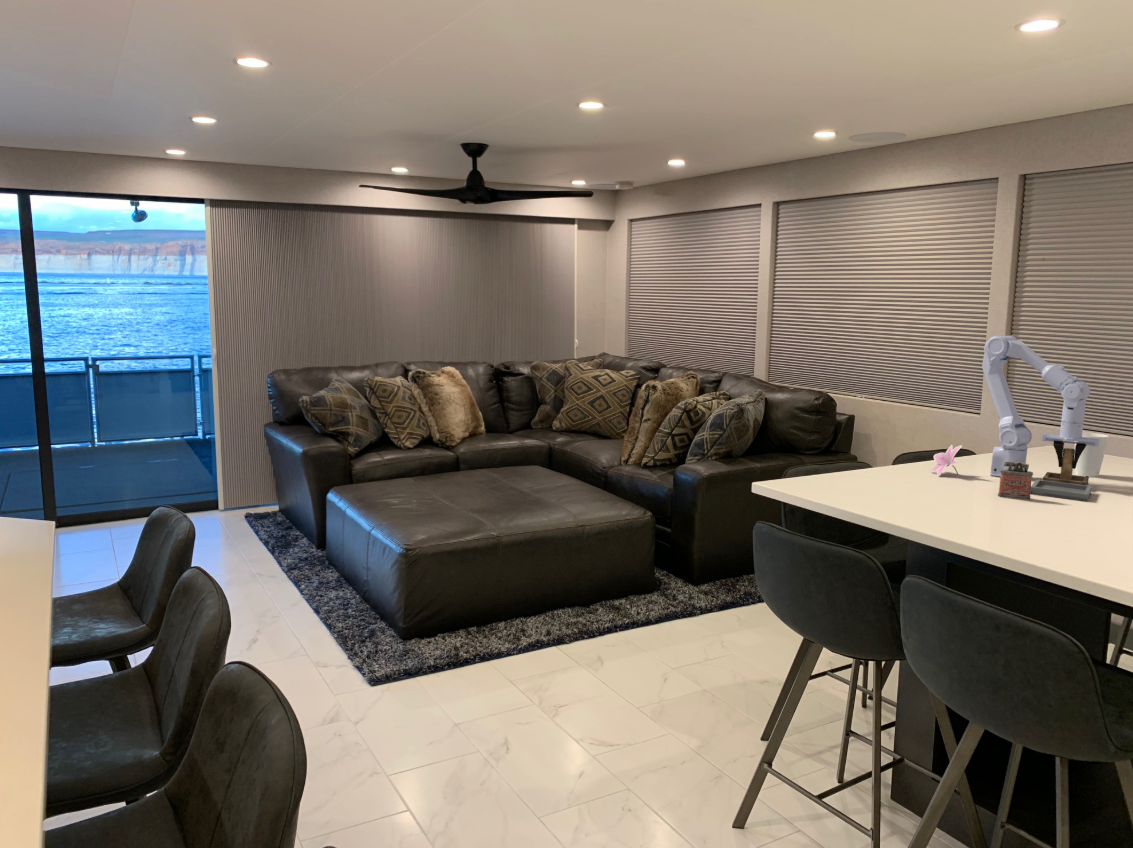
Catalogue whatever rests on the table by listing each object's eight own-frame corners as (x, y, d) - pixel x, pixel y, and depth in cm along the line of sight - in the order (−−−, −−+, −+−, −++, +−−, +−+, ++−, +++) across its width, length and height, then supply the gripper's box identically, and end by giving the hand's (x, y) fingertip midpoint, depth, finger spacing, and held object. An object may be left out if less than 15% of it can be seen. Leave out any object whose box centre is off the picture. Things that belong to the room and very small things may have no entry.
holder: (1042, 485, 255) (1043, 477, 255) (1046, 479, 264) (1047, 471, 264) (1085, 491, 249) (1086, 482, 249) (1087, 485, 258) (1088, 476, 258)
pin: (1059, 478, 256) (1062, 449, 255) (1060, 477, 258) (1063, 447, 257) (1071, 480, 254) (1074, 450, 253) (1071, 478, 257) (1075, 448, 255)
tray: (1029, 494, 243) (1030, 487, 243) (1035, 485, 255) (1036, 479, 254) (1087, 501, 236) (1088, 494, 235) (1090, 492, 247) (1091, 486, 247)
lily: (934, 472, 277) (923, 447, 275) (972, 462, 271) (961, 436, 269) (934, 490, 267) (923, 464, 265) (974, 480, 261) (963, 454, 259)
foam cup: (1104, 479, 268) (1109, 438, 266) (1070, 475, 272) (1074, 435, 270) (1103, 474, 276) (1107, 434, 274) (1069, 470, 280) (1074, 431, 278)
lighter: (1029, 497, 239) (1032, 462, 237) (1031, 500, 236) (1035, 464, 234) (996, 494, 241) (1000, 459, 240) (998, 497, 238) (1002, 461, 237)
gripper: (1042, 421, 255) (1037, 466, 257) (1100, 426, 246) (1094, 472, 248) (1045, 418, 260) (1040, 462, 262) (1101, 423, 252) (1096, 469, 254)
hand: (1067, 467), depth 256 cm, fingers closed on pin, 3 cm apart
